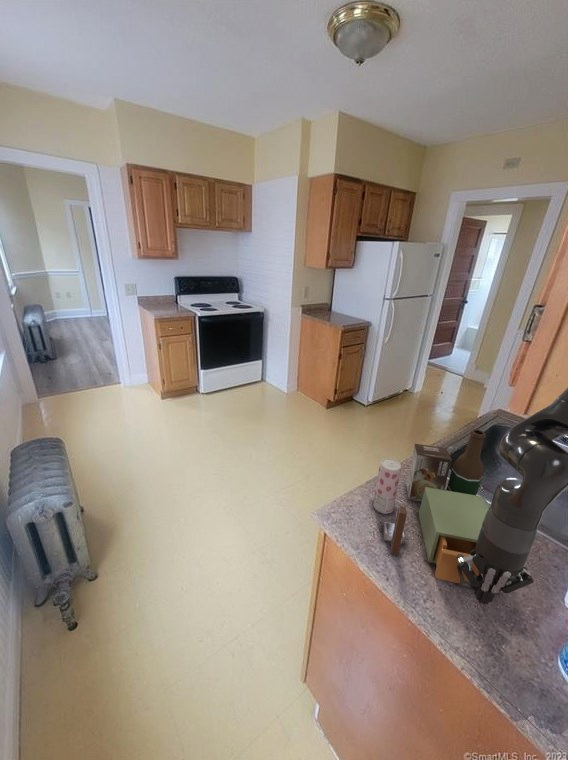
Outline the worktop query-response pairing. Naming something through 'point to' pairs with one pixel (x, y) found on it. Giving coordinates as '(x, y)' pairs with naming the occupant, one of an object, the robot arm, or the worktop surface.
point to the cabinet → (450, 517)
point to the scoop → (395, 530)
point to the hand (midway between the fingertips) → (481, 599)
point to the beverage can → (387, 485)
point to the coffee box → (427, 470)
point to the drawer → (453, 560)
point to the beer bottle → (468, 467)
